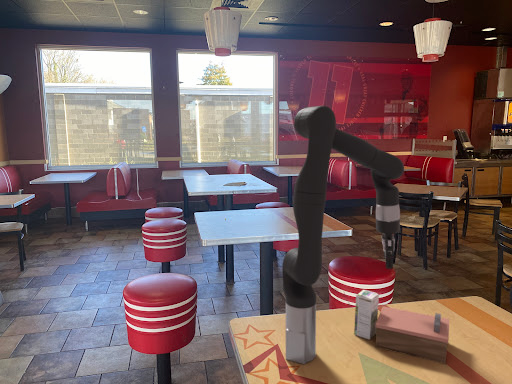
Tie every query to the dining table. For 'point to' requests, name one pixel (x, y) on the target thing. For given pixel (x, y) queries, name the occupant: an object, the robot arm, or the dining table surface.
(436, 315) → the toolbox lid
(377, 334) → the toolbox
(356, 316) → the syrup box
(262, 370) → the dining table surface
